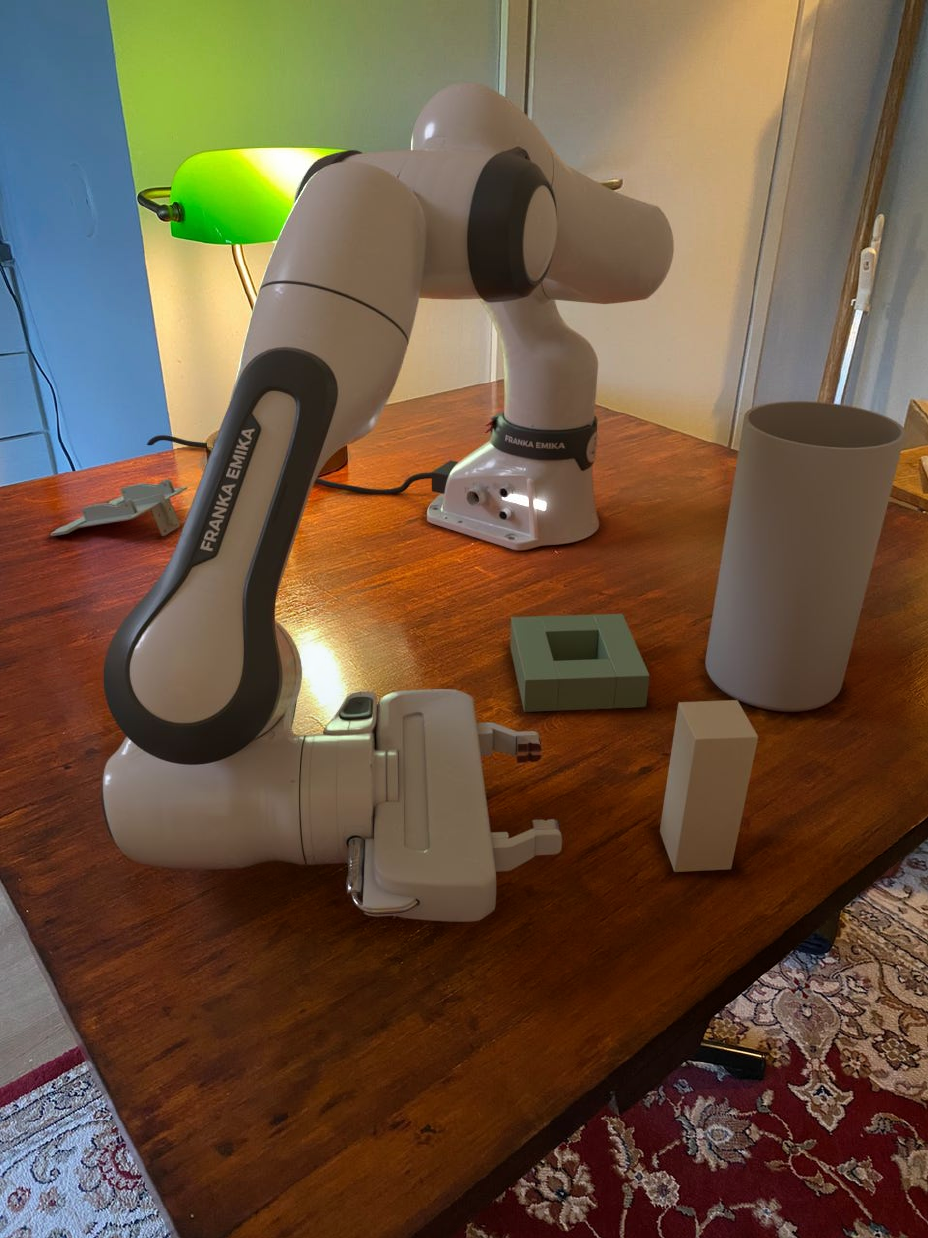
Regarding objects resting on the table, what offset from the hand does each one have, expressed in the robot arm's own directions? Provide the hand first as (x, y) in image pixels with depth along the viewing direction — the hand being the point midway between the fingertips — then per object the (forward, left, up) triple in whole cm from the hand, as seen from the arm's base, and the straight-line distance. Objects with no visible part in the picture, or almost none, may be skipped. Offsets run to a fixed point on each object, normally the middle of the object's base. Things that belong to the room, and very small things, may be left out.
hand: (549, 788), depth 63 cm
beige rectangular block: (+10, +5, -6) cm, 13 cm away
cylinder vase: (+11, +31, -7) cm, 34 cm away
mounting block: (-6, +23, -6) cm, 25 cm away
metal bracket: (-70, +31, -7) cm, 77 cm away
